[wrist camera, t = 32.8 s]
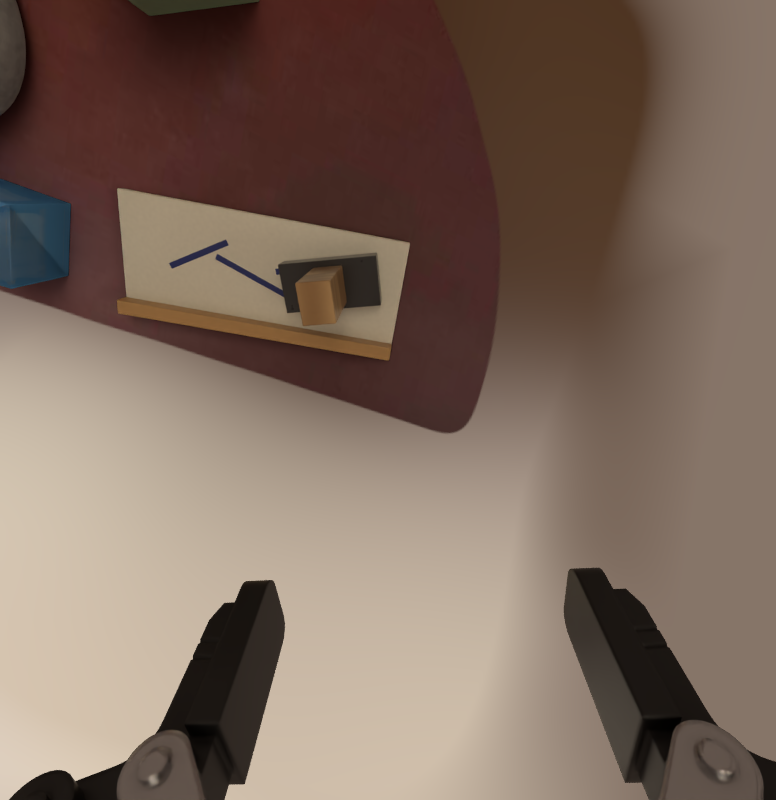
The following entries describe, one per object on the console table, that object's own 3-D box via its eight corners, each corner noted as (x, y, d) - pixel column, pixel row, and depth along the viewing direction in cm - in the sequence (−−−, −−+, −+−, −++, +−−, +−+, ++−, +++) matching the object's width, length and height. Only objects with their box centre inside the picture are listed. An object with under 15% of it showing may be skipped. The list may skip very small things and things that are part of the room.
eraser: (377, 252, 36) (370, 268, 28) (382, 300, 38) (376, 327, 30) (283, 261, 36) (252, 279, 29) (292, 307, 38) (265, 336, 30)
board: (410, 242, 36) (410, 244, 34) (389, 353, 40) (388, 361, 38) (122, 188, 35) (105, 187, 33) (132, 307, 39) (117, 313, 37)
